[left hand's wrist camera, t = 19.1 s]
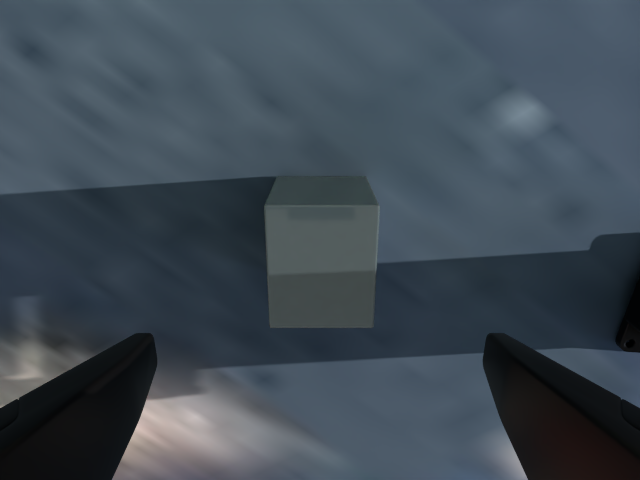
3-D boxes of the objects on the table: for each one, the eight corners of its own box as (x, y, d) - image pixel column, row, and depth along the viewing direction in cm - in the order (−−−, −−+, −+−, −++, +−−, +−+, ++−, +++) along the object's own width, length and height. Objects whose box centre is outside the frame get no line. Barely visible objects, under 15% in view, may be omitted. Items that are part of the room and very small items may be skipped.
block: (367, 175, 20) (380, 205, 16) (362, 276, 22) (373, 328, 17) (276, 175, 20) (263, 205, 16) (279, 276, 22) (269, 328, 17)
